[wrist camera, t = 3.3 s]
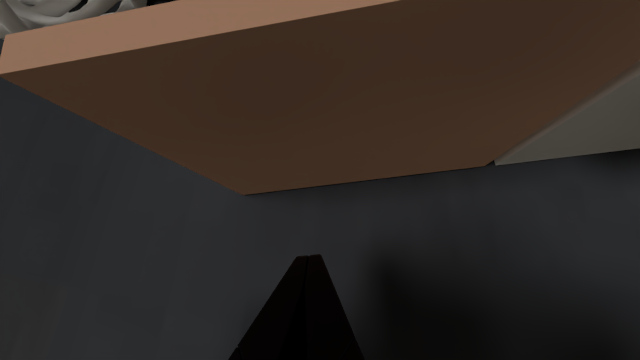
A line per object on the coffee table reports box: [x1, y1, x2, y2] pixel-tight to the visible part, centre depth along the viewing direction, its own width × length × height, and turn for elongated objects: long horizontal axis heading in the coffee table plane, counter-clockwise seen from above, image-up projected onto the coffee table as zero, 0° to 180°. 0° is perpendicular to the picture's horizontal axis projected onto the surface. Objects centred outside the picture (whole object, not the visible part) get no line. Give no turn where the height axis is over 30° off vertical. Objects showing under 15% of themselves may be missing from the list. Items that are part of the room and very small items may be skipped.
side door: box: [0, 0, 640, 195], centre depth 11 cm, size 1×15×13 cm, turn 96°
